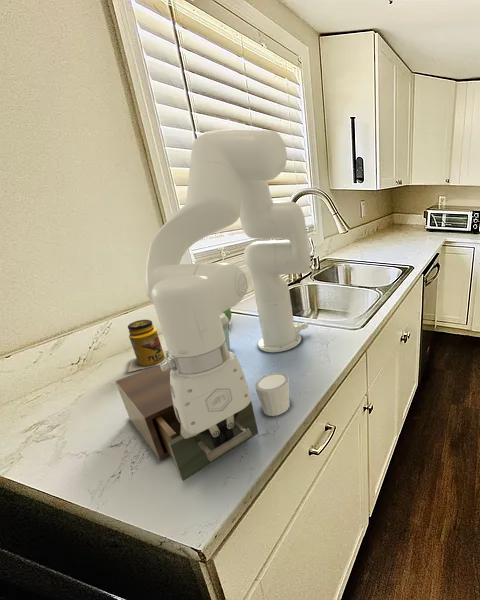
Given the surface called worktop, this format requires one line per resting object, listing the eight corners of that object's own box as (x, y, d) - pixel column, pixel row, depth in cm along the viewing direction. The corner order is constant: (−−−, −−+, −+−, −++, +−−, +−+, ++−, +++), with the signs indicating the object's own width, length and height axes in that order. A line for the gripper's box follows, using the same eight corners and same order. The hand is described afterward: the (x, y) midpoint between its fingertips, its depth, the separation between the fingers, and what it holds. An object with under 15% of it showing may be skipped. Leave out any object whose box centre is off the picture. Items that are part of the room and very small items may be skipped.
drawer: (273, 445, 61) (266, 412, 59) (196, 499, 51) (183, 461, 49) (219, 400, 74) (211, 371, 71) (148, 436, 64) (136, 403, 61)
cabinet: (238, 416, 71) (229, 377, 67) (160, 460, 60) (144, 418, 56) (202, 385, 81) (193, 351, 77) (130, 419, 70) (115, 381, 66)
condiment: (166, 363, 91) (154, 324, 86) (128, 373, 86) (113, 332, 82) (166, 352, 96) (155, 315, 92) (130, 360, 92) (117, 322, 88)
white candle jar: (262, 422, 69) (256, 394, 66) (258, 403, 74) (253, 377, 72) (295, 411, 72) (291, 385, 69) (289, 394, 77) (285, 369, 75)
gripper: (152, 388, 43) (187, 489, 49) (259, 343, 53) (275, 431, 60) (134, 368, 47) (168, 464, 54) (236, 331, 58) (254, 414, 64)
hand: (225, 446), depth 57 cm, fingers closed
